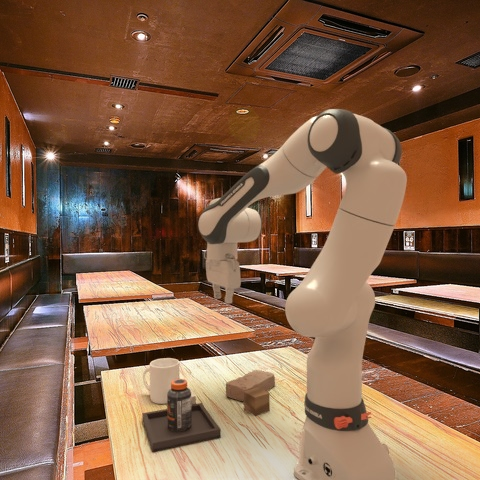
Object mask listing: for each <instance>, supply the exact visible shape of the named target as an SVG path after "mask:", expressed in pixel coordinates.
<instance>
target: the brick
mask: <svg viewBox="0 0 480 480" xmlns="http://www.w3.org/2000/svg"><path fill="white" fill-rule="evenodd" d="M274 387H276V377H275V374H274V373H272V372H270V371H266V370H259V369H253V370H252V371H250V372H247V373H245V375H242V376H240V377H238V378H235V379H232V380H229V381H227V382H226V383H225V396H226V397H228V398H231V399H233V400H237V401H238V402H244V392H245V391H248V390H251V389H254V388H260V389H262V390H264V391H266V392H269V390H271V389H273V388H274Z"/></svg>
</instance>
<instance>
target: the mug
mask: <svg viewBox="0 0 480 480" xmlns="http://www.w3.org/2000/svg"><path fill="white" fill-rule="evenodd" d="M147 373H149V384H147V382H146V379H145V377H146V374H147ZM142 376H143V377H142V380H143V385H144V387H145V389H146V390H147V391H149V396H150V401H151V402H152V403H154V404H157V405H167V393H168V391H169V390H170V389H171V382H172V381H173V380H176V379H181V378H180V377H181V376H180V360H179V359H176V358H171V357H166V358H165V357H164V358H157V359H154V360H152V361H150V363H149V365H148V366H147V367H146V368H145V369H144V371H143V374H142Z"/></svg>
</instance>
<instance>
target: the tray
mask: <svg viewBox="0 0 480 480" xmlns="http://www.w3.org/2000/svg"><path fill="white" fill-rule="evenodd" d="M191 413H192V424H191V427H190V428H189V429H187V430H184V431H179V432H176V431H172V430H170V429H169V428H168V414H167V408H165V409H160V410H159V409H158V410H154V411H153V410H152V411H147V412H143V413H142V418H141V419H142V423H143V426H144V429H145V433H146V436H147V439H148V442H149V445H150V448H151V450H152V453H154V452H155V453H157V452H160V451H165V450H169V449H174V448H178V447H183V446H187V445H188V446H189V445H192V444H193V445H194V444H196V443H197V444H198V443H201V442H203V443H204V442H208V441H211V440H215V439H216V440H217V439H221V438H222V435H221V432H222V431H221V427H220V426H219V425H218V423H217V422H216V421H215V420H214V418H213V417H212V415H211V414H210V412H209V411H208V409H206V406H205V405H204V404H203V403H202V402H200V403H196V404H192V405H191Z"/></svg>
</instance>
